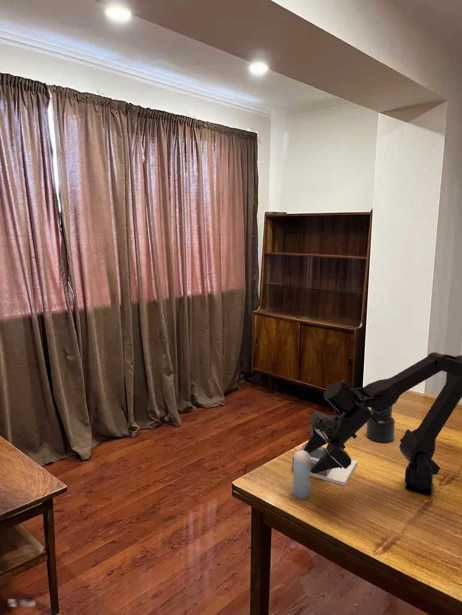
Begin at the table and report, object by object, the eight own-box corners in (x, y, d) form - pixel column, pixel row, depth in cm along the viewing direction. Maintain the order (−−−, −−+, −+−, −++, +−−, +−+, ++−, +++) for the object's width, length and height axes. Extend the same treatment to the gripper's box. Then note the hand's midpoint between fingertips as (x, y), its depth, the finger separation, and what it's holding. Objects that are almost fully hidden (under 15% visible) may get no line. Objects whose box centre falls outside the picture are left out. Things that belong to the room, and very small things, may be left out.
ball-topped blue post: (312, 492, 120) (313, 449, 117) (306, 500, 116) (307, 457, 114) (296, 487, 122) (297, 445, 120) (290, 495, 118) (291, 452, 116)
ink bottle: (400, 438, 149) (402, 405, 147) (383, 446, 144) (385, 411, 142) (376, 428, 157) (378, 396, 155) (359, 434, 152) (361, 402, 150)
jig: (357, 464, 133) (357, 452, 133) (344, 485, 122) (345, 472, 122) (307, 451, 141) (308, 439, 141) (292, 470, 130) (292, 458, 130)
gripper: (319, 389, 124) (279, 427, 125) (340, 418, 106) (294, 462, 107) (345, 415, 126) (306, 452, 127) (371, 447, 108) (324, 490, 109)
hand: (307, 462), depth 117 cm, fingers open, 9 cm apart
